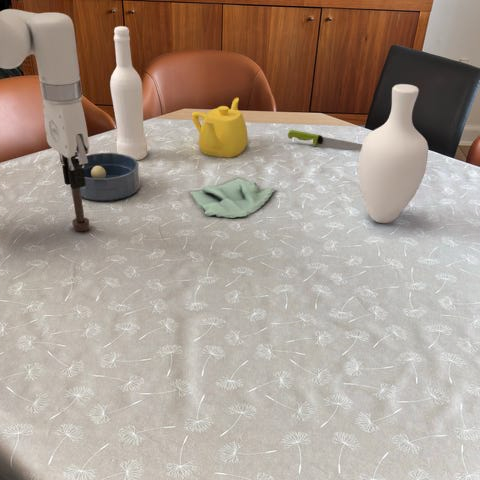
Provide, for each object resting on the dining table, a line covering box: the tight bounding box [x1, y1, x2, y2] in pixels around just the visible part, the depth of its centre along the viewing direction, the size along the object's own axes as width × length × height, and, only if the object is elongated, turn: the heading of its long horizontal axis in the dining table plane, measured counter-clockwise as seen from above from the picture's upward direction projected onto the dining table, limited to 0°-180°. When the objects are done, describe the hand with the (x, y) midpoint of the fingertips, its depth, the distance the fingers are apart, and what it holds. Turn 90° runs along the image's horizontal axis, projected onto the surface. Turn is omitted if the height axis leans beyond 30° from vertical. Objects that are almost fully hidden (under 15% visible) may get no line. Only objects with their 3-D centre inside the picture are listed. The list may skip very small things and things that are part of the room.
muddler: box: [67, 157, 91, 232], centre depth 137 cm, size 4×4×15 cm
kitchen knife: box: [287, 129, 363, 151], centre depth 180 cm, size 22×1×3 cm, turn 77°
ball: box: [91, 166, 106, 178], centre depth 159 cm, size 4×4×4 cm
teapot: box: [191, 97, 249, 159], centre depth 176 cm, size 22×16×11 cm
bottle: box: [109, 25, 149, 161], centre depth 164 cm, size 8×8×30 cm
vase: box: [357, 83, 429, 224], centre depth 139 cm, size 14×14×28 cm
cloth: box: [190, 178, 276, 219], centre depth 155 cm, size 20×22×2 cm
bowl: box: [80, 152, 141, 202], centre depth 157 cm, size 16×16×6 cm
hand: (75, 184), depth 136 cm, fingers closed on muddler
